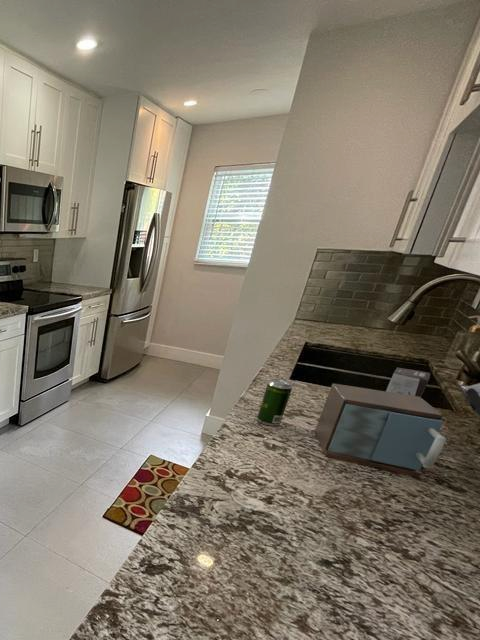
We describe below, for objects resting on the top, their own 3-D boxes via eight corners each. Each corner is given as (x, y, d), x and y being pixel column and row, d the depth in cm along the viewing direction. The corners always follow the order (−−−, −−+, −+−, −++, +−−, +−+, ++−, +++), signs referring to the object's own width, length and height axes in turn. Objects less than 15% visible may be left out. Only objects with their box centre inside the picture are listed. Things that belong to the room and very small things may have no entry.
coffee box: (402, 438, 105) (428, 380, 100) (368, 429, 110) (392, 372, 104) (406, 428, 111) (432, 372, 105) (374, 420, 115) (397, 366, 110)
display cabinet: (396, 449, 100) (420, 396, 95) (418, 477, 89) (447, 419, 84) (314, 432, 107) (332, 383, 102) (325, 456, 96) (346, 402, 91)
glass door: (418, 469, 89) (442, 420, 85) (430, 483, 84) (456, 432, 80) (369, 458, 93) (390, 411, 88) (378, 471, 88) (400, 422, 83)
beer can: (284, 425, 111) (298, 384, 107) (269, 427, 110) (282, 386, 105) (266, 417, 116) (279, 377, 111) (251, 418, 114) (263, 378, 110)
